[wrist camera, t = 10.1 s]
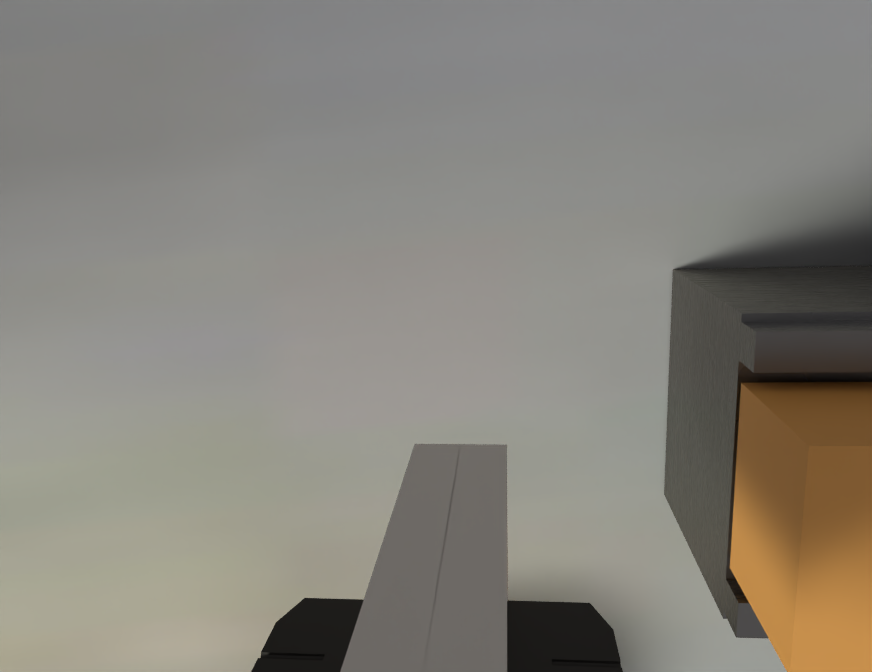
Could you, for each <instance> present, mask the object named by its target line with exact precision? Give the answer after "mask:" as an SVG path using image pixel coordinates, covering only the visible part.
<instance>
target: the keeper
mask: <svg viewBox="0 0 872 672" xmlns="http://www.w3.org/2000/svg"><path fill="white" fill-rule="evenodd" d="M730 569H731V571H732V573H733V574H734V576H735V578H736V580H737V582H738V584H739V585H740V587H741V589H742V591H743V593H744V594H745V596H746V598H747V600H748V602H749V603H750V605H751V607H752V609H753V611H754V612H755V614H756V616H757V618H758V620H759V622H760V623H761V625H762V627H763V629H764V631H765V632H766V634H767V636H768V638H769V640H770V641H771V643H772V645H773V647H774V649H775V651H776V652H777V654H778V656H779V658H780V660H781V661H782V663H783V665H784V667H785V669H786V670H787V672H872V382H766V383H741V394H740V410H739V426H738V443H737V459H736V475H735V492H734V508H733V524H732V541H731V557H730Z"/></svg>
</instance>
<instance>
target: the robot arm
mask: <svg viewBox="0 0 872 672" xmlns="http://www.w3.org/2000/svg"><path fill="white" fill-rule="evenodd" d="M251 672H623V670H622V668H621V664H620V657H619V653H618V649H617V644H616V640H615V636H614V631H613V629H612V628H611V627H610V626H609V624H608V623H607V622H606V621H605V620H604V619H603V618H602V616H601V615H600V614H599V613H598V612H597V611H596V610H595V608H594V607H593V606H592V605H591V604H590V603H572V602H536V601H508V549H507V445H475V444H415V445H414V448H413V451H412V454H411V457H410V460H409V463H408V466H407V469H406V472H405V476H404V479H403V482H402V485H401V488H400V491H399V494H398V497H397V500H396V503H395V506H394V509H393V512H392V515H391V518H390V521H389V524H388V527H387V530H386V534H385V537H384V540H383V543H382V546H381V549H380V552H379V555H378V558H377V561H376V564H375V567H374V570H373V573H372V576H371V579H370V582H369V585H368V589H367V592H366V595H365V598H364V600H355V599H319V598H304V599H303V600H302V601H301V602H300V603H298V604H297V605H296V606H295V607H294V608H292V609H291V610H290V611H289V612H288V613H287V614H285V615H284V616H283V617H282V618H281V619H280V620H278V621H277V622H276V624H275V626H274V628H273V630H272V632H271V634H270V636H269V638H268V640H267V642H266V644H265V646H264V648H263V650H262V652H261V658H258V659H257V661H256V663H255V665H254V667H253V669H252V671H251Z"/></svg>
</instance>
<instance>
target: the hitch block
mask: <svg viewBox="0 0 872 672" xmlns="http://www.w3.org/2000/svg"><path fill="white" fill-rule="evenodd" d="M766 382H872V266H822V267H773V268H723V269H674V270H673V282H672V308H671V334H670V360H669V386H668V412H667V438H666V464H665V490H664V495H665V497H666V499H667V501H668V503H669V505H670V508H671V510H672V512H673V514H674V516H675V518H676V520H677V522H678V524H679V526H680V529H681V531H682V533H683V535H684V537H685V539H686V541H687V543H688V545H689V547H690V550H691V552H692V554H693V556H694V558H695V560H696V562H697V564H698V566H699V568H700V571H701V573H702V575H703V577H704V579H705V581H706V583H707V585H708V587H709V589H710V592H711V594H712V596H713V598H714V600H715V602H716V604H717V606H718V608H719V610H720V613H721V615H722V617H723V619H728V621H729V623H730V625H731V628H732V630H733V632H734V634H735V636H736V637H738V638H768V636H767V634H766V632H765V631H764V629H763V627H762V625H761V623H760V622H759V620H758V618H757V616H756V614H755V612H754V611H753V609H752V607H751V605H750V603H749V602H748V600H747V598H746V596H745V594H744V593H743V591H742V589H741V587H740V585H739V584H738V582H737V580H736V578H735V576H734V574H733V573H732V571H731V569H730V557H731V541H732V524H733V508H734V492H735V475H736V459H737V443H738V426H739V410H740V394H741V383H766Z"/></svg>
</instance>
